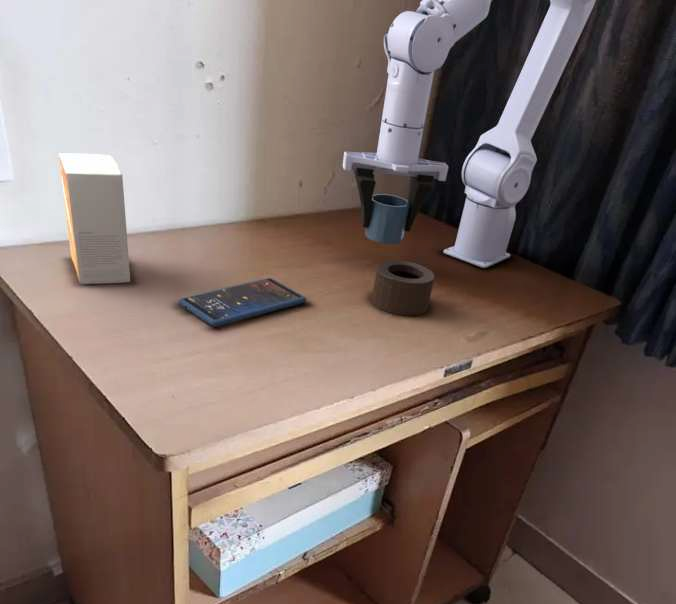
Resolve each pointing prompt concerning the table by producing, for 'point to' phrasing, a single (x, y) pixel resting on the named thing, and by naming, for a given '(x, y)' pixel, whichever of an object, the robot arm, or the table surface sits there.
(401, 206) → the cup
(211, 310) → the smartphone
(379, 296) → the brown short cylinder
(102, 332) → the table surface
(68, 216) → the small box
